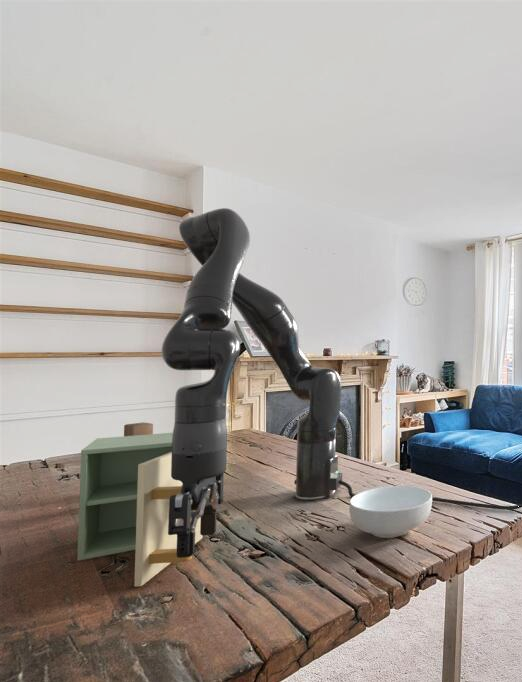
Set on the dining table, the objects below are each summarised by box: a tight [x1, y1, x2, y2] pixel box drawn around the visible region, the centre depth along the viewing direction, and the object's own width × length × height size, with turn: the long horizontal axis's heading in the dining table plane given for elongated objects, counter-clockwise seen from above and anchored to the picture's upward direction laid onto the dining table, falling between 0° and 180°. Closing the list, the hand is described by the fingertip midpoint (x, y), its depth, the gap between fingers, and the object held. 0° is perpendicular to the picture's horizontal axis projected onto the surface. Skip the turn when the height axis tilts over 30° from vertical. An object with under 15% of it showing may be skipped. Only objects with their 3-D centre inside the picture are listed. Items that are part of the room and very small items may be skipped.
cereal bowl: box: [348, 485, 433, 539], centre depth 91 cm, size 17×17×7 cm
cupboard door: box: [133, 452, 204, 588], centre depth 77 cm, size 7×18×19 cm, turn 9°
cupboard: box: [76, 432, 173, 561], centre depth 86 cm, size 12×18×20 cm
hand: (197, 544), depth 72 cm, fingers open, 7 cm apart
